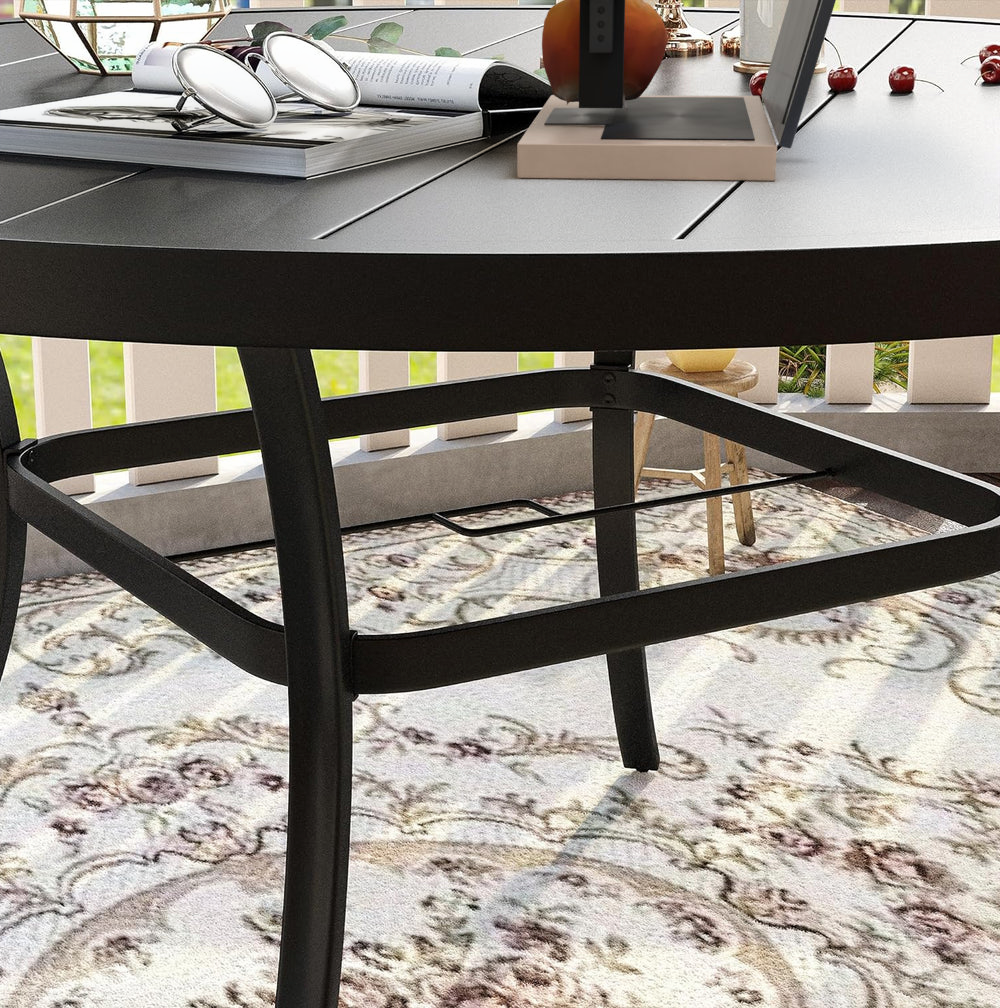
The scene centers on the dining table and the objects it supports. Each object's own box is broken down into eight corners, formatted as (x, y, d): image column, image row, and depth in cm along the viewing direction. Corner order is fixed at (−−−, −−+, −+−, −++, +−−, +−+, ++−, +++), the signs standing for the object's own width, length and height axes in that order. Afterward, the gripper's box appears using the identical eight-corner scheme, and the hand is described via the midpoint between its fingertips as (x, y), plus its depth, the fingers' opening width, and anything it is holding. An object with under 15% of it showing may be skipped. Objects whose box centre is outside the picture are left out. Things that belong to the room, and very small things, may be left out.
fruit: (528, 89, 86) (537, -34, 87) (542, 139, 93) (551, 26, 94) (660, 90, 85) (668, -34, 86) (664, 142, 92) (671, 27, 93)
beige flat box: (517, 178, 83) (517, 142, 82) (550, 123, 103) (550, 93, 102) (775, 181, 81) (777, 143, 80) (758, 124, 101) (759, 94, 100)
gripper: (674, -333, 72) (659, 122, 81) (677, -285, 91) (665, 79, 100) (528, -328, 73) (530, 121, 82) (561, -282, 92) (560, 78, 101)
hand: (604, 97), depth 91 cm, fingers closed on fruit, 8 cm apart
